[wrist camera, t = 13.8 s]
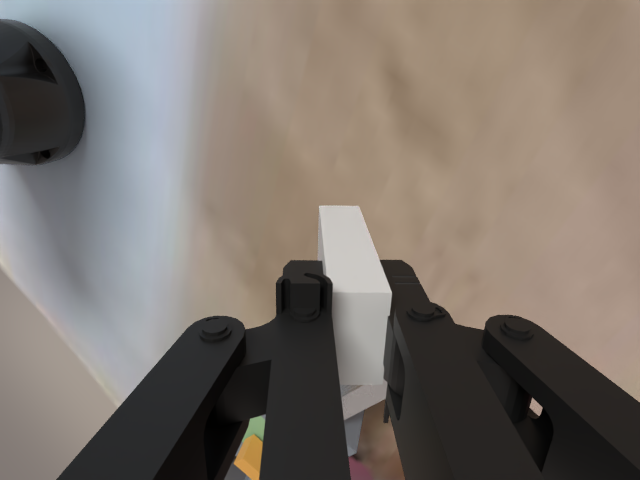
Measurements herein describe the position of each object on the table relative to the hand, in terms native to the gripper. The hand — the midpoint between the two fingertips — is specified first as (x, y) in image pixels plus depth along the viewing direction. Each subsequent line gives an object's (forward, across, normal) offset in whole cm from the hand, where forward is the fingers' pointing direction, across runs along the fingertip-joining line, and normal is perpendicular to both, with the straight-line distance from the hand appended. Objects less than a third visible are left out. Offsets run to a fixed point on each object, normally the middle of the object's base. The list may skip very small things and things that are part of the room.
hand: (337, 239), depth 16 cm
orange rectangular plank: (+19, -5, -34) cm, 39 cm away
